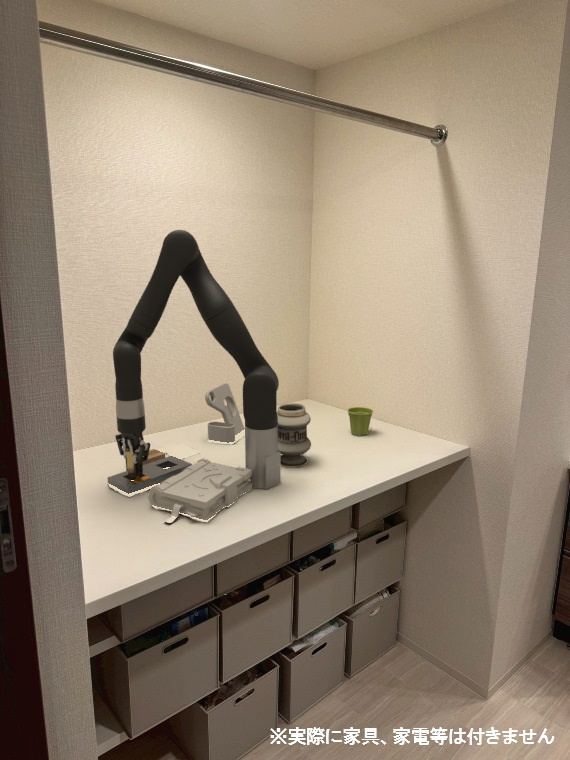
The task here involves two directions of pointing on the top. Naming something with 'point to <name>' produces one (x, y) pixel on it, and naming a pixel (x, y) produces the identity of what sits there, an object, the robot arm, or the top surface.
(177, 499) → the book
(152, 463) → the grey peg board
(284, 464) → the apothecary jar
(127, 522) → the top surface
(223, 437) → the phone holder
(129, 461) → the brass peg
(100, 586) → the top surface
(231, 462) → the top surface
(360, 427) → the plant pot
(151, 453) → the block
